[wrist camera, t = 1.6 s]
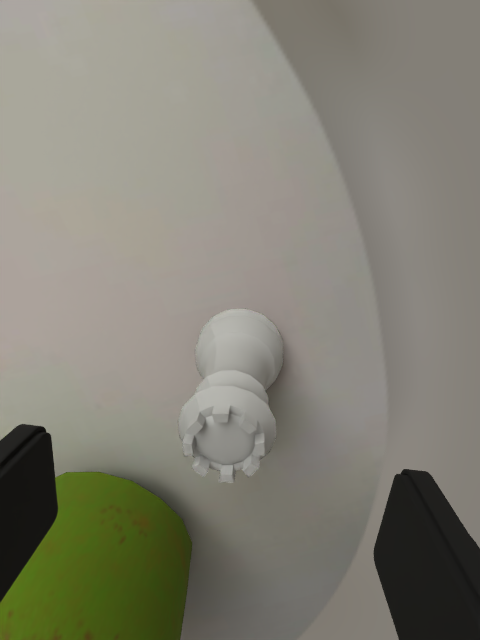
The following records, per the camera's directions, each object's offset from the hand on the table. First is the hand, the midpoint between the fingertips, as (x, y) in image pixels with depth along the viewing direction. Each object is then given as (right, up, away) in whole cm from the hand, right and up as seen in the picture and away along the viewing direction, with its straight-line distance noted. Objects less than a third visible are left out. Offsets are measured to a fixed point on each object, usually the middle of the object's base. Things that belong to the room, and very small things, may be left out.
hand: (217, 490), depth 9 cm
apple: (-7, -8, +13) cm, 17 cm away
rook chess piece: (+1, +3, +9) cm, 9 cm away
